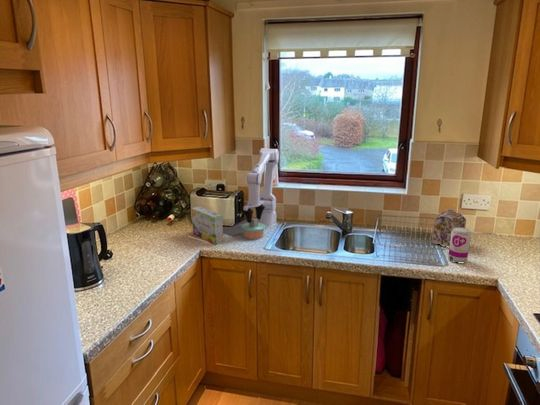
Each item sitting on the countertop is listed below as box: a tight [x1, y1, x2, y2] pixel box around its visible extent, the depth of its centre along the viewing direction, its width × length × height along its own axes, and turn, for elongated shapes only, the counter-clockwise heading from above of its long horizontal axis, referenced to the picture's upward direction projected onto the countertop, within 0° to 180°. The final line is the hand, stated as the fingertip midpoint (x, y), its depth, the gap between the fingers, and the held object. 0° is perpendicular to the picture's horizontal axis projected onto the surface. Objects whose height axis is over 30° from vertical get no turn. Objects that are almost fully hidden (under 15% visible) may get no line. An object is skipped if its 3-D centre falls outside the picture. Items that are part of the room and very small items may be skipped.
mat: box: [223, 224, 244, 238], centre depth 229 cm, size 16×15×1 cm
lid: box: [240, 217, 267, 232], centre depth 219 cm, size 13×13×5 cm
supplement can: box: [447, 227, 472, 263], centre depth 190 cm, size 8×8×15 cm
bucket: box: [243, 229, 265, 240], centre depth 220 cm, size 10×10×5 cm
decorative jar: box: [431, 209, 467, 246], centre depth 211 cm, size 12×12×18 cm
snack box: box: [191, 206, 224, 246], centre depth 214 cm, size 21×6×15 cm, turn 42°
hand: (254, 220), depth 218 cm, fingers open, 7 cm apart
